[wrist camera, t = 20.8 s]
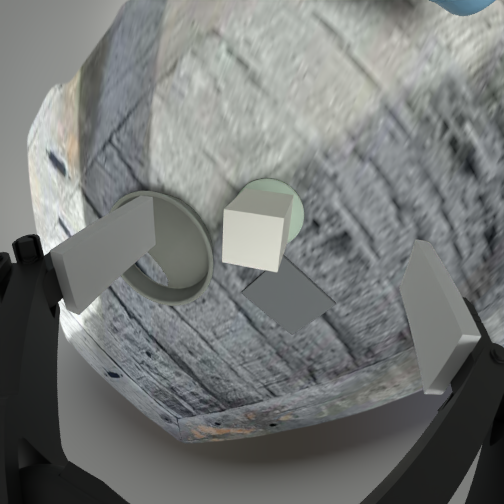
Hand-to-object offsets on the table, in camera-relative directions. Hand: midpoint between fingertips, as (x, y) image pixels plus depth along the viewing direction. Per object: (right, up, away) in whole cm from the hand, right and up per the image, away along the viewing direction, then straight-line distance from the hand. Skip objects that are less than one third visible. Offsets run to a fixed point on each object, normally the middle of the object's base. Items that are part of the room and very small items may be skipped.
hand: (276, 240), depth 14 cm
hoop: (-19, +1, +45) cm, 49 cm away
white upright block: (+1, +6, +36) cm, 36 cm away
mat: (+6, -9, +43) cm, 45 cm away
